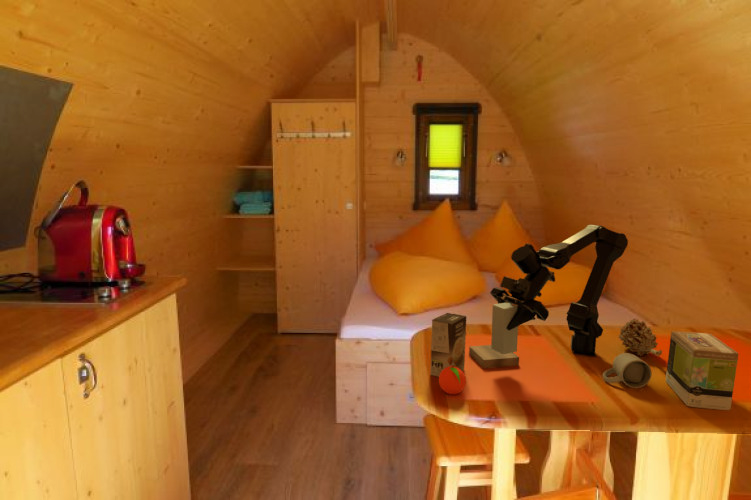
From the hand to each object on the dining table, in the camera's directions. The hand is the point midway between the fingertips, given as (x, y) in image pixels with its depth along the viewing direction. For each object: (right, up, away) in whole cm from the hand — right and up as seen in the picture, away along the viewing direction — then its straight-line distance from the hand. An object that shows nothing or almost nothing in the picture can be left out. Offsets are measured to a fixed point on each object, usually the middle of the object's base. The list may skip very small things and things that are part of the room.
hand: (501, 326), depth 140 cm
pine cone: (+47, -11, +14) cm, 50 cm away
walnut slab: (0, -12, +11) cm, 16 cm away
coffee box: (-15, -13, +2) cm, 20 cm away
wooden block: (+1, -7, +2) cm, 7 cm away
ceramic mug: (+32, -15, -4) cm, 36 cm away
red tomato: (-15, -16, -11) cm, 25 cm away
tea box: (+47, -16, -12) cm, 51 cm away
